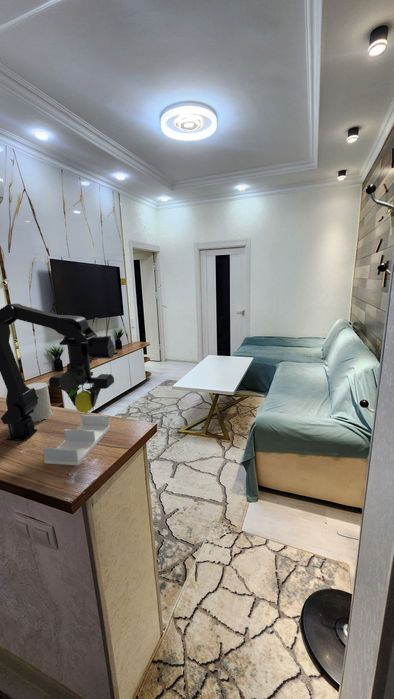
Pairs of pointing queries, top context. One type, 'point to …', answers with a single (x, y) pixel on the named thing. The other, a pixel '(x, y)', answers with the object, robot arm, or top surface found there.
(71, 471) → the top surface
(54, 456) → the white divided tray
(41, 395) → the cup
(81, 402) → the lemon
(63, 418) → the top surface
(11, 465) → the top surface
